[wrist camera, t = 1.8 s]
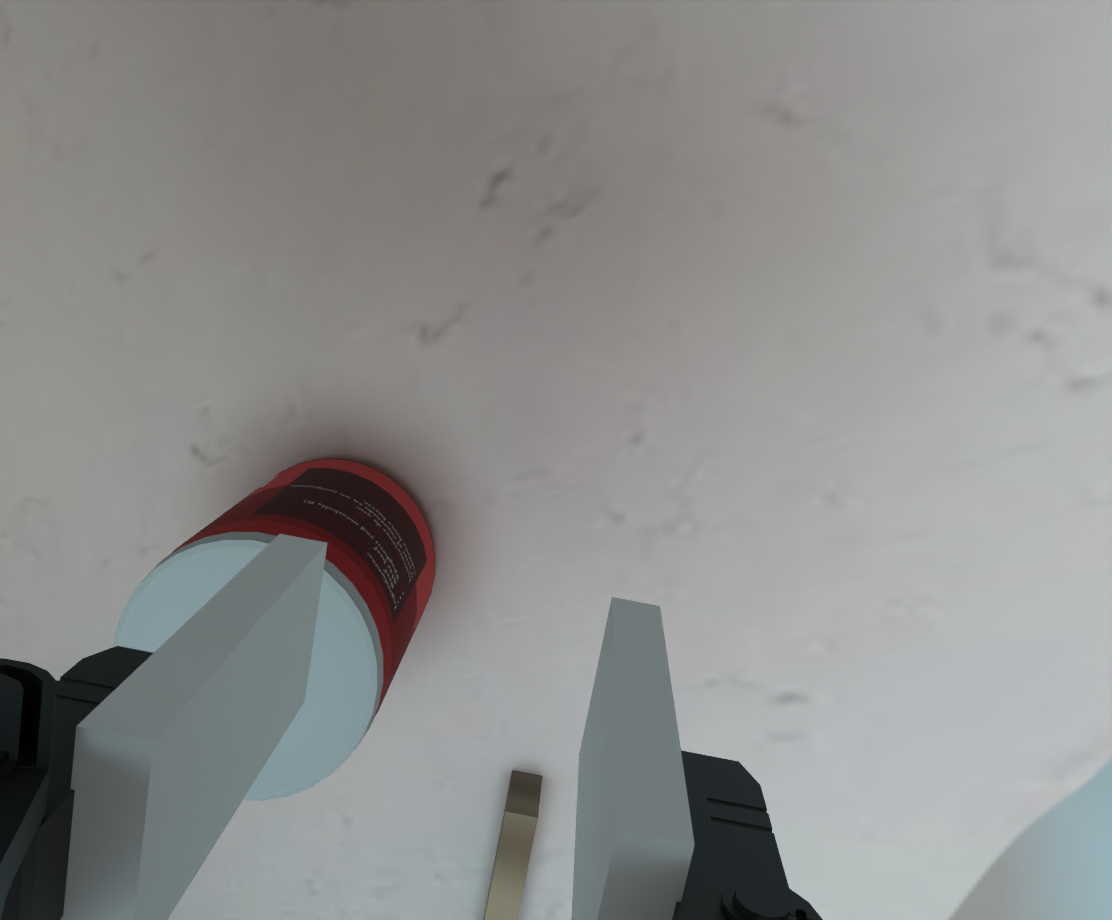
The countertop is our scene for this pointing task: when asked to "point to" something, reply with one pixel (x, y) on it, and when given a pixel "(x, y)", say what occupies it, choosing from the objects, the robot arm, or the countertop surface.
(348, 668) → the canned food
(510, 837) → the bay
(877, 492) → the countertop surface
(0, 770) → the robot arm
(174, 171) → the countertop surface
